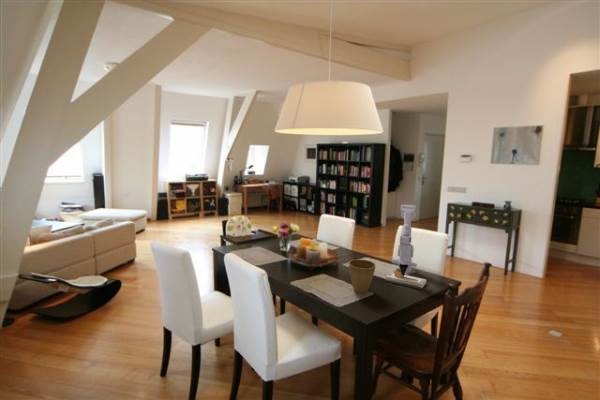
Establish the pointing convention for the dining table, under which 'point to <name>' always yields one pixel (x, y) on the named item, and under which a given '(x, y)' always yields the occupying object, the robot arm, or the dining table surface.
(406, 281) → the white slider switch panel
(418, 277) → the dressed cords
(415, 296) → the dining table surface
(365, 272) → the plant pot
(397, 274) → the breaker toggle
